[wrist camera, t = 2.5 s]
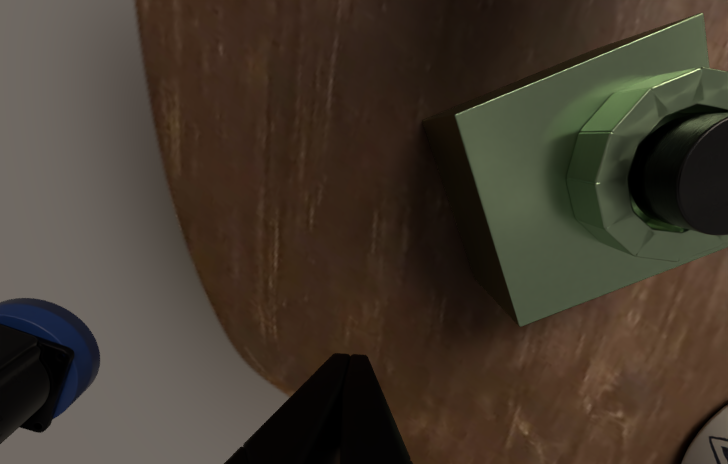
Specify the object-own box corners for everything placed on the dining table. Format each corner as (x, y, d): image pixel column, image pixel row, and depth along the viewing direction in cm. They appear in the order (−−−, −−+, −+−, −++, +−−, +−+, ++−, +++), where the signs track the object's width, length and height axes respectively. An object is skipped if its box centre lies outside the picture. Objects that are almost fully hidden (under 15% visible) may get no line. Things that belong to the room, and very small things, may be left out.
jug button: (637, 237, 14) (686, 254, 12) (619, 139, 13) (670, 140, 11) (736, 199, 14) (801, 209, 12) (725, 97, 13) (795, 90, 11)
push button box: (474, 279, 22) (541, 350, 15) (421, 120, 19) (470, 111, 12) (637, 215, 21) (789, 256, 14) (606, 44, 19) (772, -13, 12)
